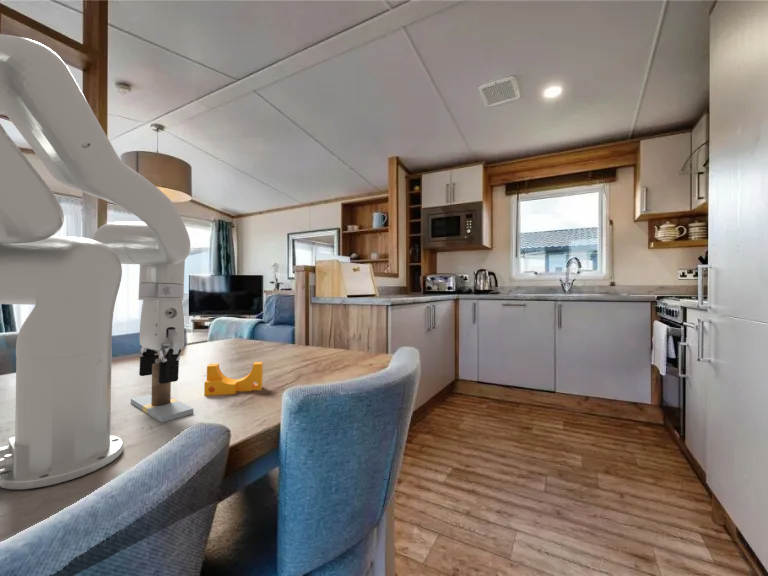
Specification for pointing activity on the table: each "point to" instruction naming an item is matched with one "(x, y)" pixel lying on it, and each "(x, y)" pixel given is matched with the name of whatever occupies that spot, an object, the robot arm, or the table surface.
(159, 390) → the peg
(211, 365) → the pipe clamp
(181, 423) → the table surface
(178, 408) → the board
